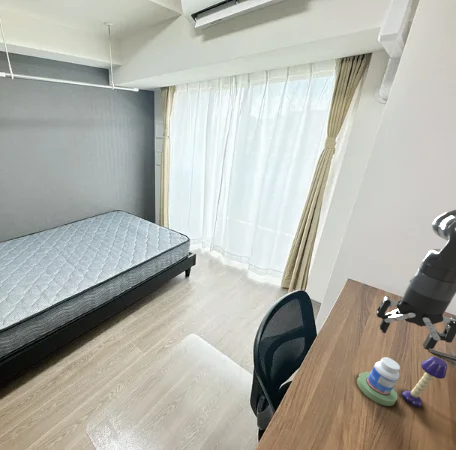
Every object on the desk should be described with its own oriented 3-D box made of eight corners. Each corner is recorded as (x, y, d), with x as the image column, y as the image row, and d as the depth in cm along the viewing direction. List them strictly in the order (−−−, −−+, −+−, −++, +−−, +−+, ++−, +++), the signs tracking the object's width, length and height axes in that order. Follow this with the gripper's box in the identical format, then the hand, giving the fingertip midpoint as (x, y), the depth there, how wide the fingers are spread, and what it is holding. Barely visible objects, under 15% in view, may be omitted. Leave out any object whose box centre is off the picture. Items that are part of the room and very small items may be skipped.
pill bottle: (366, 374, 77) (377, 351, 73) (388, 384, 74) (401, 361, 70) (367, 387, 73) (380, 364, 69) (391, 399, 70) (405, 375, 66)
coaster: (393, 388, 75) (396, 383, 74) (396, 412, 68) (399, 408, 68) (357, 371, 80) (359, 366, 79) (356, 392, 73) (359, 387, 73)
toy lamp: (427, 406, 70) (456, 365, 64) (416, 411, 69) (445, 370, 63) (407, 390, 74) (432, 350, 68) (397, 394, 73) (421, 354, 67)
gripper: (393, 285, 62) (370, 334, 68) (479, 311, 54) (444, 363, 60) (390, 273, 67) (369, 319, 73) (468, 294, 59) (437, 344, 65)
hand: (403, 339), depth 67 cm, fingers open, 8 cm apart
